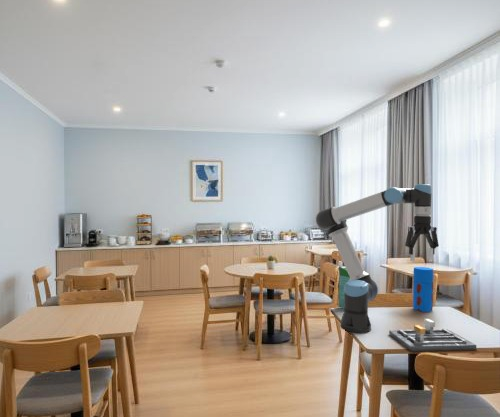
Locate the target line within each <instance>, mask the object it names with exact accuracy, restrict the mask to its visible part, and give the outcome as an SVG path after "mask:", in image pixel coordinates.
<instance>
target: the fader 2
mask: <svg viewBox="0 0 500 417" xmlns="http://www.w3.org/2000/svg"><path fill="white" fill-rule="evenodd" d="M435 323H436V322H435V321H433V320H431V319H430V318H423V324H424V329H425V332H426V333H428V334H433V330H434V328H435V327H436V324H435Z"/></svg>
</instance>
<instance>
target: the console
mask: <svg viewBox="0 0 500 417" xmlns="http://www.w3.org/2000/svg"><path fill="white" fill-rule="evenodd" d="M388 334H389V336H390V337H391V338H393V339H394V340H396V341H397V342H398V343H400V344H401V345H403V347H405V348H406V349H408V350H409V351H410V352H423V351H425V352H427V351H428V352H429V351H430V352H431V351H468V350H469V351H471V350H472V351H473V350H477V344H476V343H473V342H472V341H469V340H468V339H466V338H464V337H463V336H461V335H459V334H457V333H455V332H453V331H452V330H450V329H448V328H447V329H445V328H442V329H433V334H428V333H426V332H425V334H424V342H419V341H417V340H416V339H415V330H414V329H400V328H399V329H398V330H397V329H395V330H393V329H392V330H391V329H390V330H388Z"/></svg>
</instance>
